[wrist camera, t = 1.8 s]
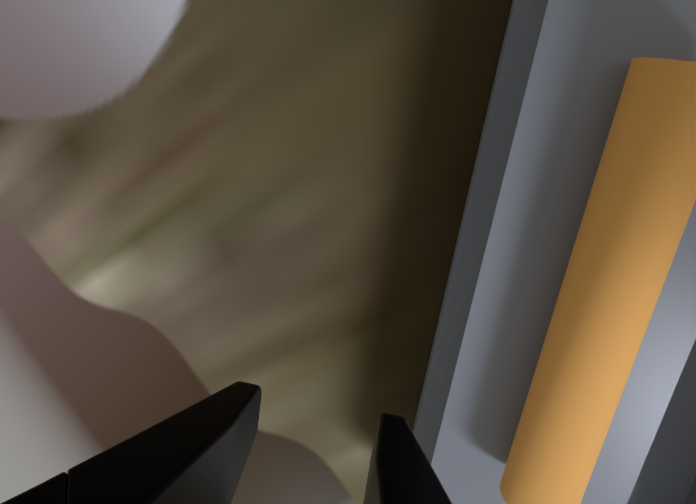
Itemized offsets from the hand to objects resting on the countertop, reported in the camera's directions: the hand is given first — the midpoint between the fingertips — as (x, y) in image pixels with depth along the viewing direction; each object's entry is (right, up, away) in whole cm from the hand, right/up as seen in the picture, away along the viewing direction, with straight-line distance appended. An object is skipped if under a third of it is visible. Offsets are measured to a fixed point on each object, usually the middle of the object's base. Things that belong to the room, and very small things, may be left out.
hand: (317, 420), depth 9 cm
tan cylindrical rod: (+8, +1, +7) cm, 10 cm away
